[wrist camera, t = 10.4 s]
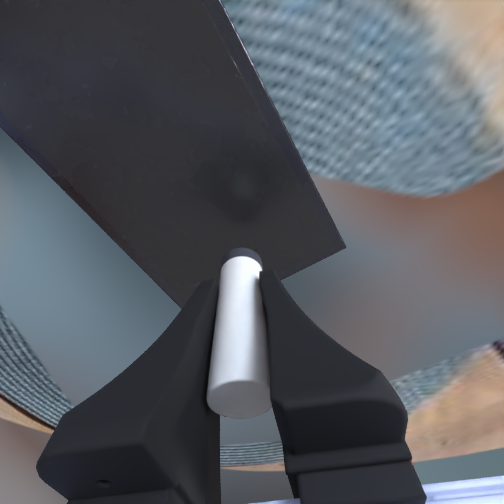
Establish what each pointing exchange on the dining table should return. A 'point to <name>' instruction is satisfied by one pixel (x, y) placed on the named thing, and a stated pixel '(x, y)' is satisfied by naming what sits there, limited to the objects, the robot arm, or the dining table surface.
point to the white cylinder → (240, 340)
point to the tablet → (160, 134)
